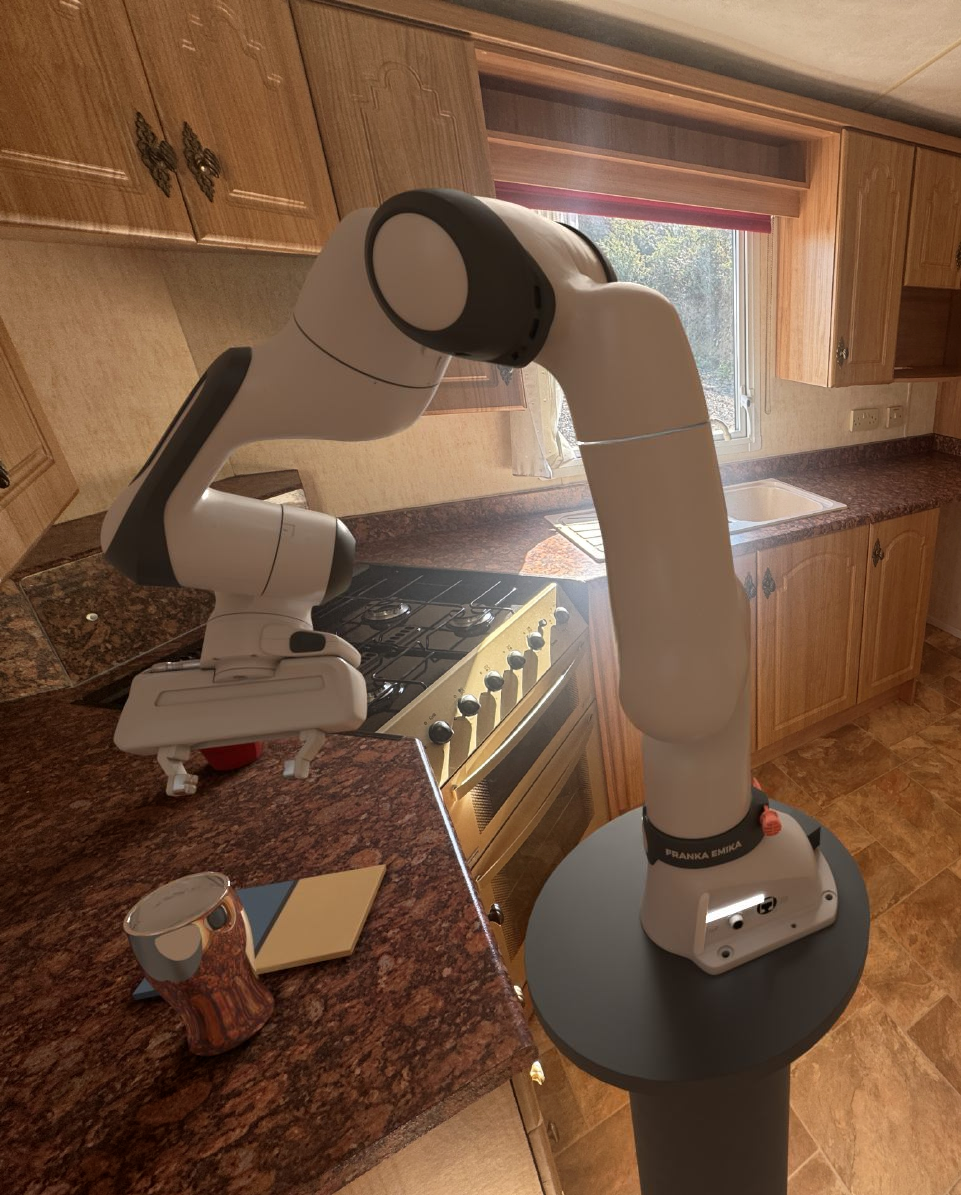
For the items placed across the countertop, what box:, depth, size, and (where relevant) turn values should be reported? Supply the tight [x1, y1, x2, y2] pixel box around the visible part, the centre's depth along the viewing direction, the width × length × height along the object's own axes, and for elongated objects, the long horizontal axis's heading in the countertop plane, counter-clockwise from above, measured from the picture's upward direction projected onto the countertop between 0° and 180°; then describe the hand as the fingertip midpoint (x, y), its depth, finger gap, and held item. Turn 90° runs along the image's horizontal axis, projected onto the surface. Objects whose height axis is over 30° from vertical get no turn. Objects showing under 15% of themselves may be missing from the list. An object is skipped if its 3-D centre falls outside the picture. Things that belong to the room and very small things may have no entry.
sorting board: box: [131, 863, 387, 1001], centre depth 67 cm, size 18×12×1 cm, turn 106°
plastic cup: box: [197, 741, 263, 771], centre depth 92 cm, size 11×11×12 cm
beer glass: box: [122, 871, 276, 1057], centre depth 55 cm, size 7×7×15 cm
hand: (239, 786), depth 61 cm, fingers open, 8 cm apart
